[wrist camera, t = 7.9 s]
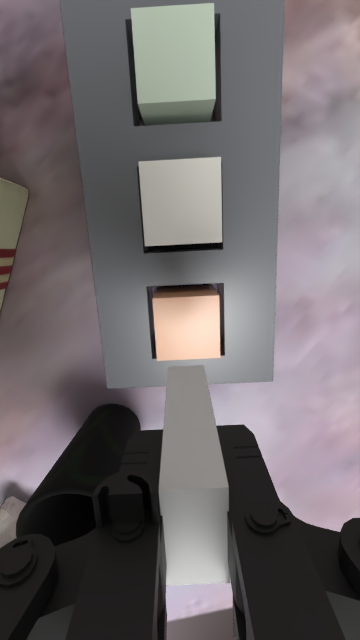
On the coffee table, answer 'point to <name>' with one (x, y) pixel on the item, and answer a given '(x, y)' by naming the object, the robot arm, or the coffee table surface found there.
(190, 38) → the sage key
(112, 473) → the cup
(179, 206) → the ivory key
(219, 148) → the key panel
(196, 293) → the peach cube
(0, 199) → the gift box
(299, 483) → the coffee table surface
